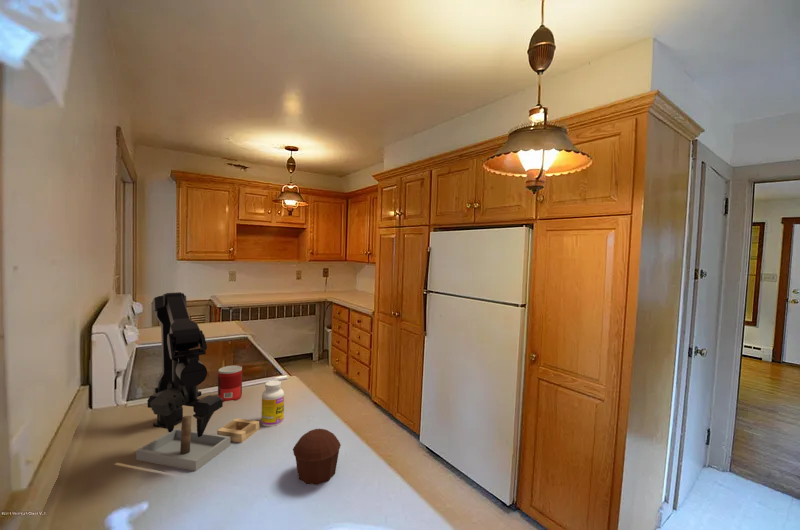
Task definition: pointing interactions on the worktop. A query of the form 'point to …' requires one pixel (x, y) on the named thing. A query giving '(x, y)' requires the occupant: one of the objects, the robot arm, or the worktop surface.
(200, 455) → the tray
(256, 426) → the holder
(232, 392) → the canned food
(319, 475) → the muffin
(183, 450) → the pin
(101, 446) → the worktop surface
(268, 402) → the supplement bottle
